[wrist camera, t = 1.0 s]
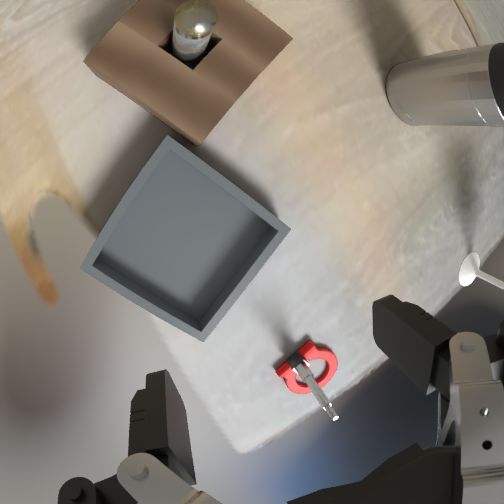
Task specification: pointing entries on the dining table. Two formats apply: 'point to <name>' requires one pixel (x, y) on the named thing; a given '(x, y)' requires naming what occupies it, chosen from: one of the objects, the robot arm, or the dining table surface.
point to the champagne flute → (475, 271)
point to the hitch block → (178, 74)
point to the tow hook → (310, 374)
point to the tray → (184, 241)
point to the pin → (192, 31)
